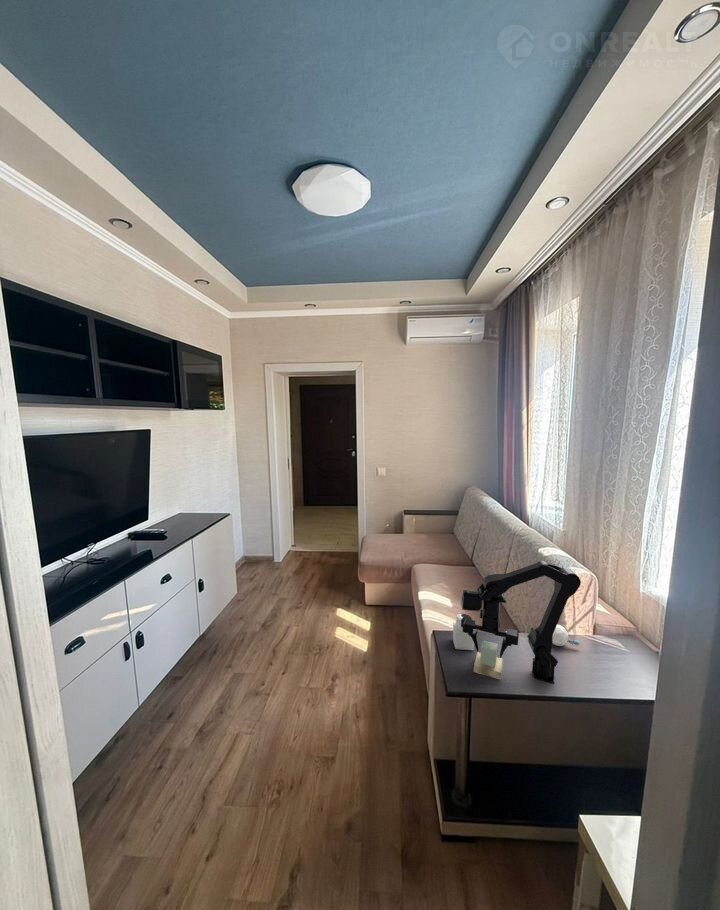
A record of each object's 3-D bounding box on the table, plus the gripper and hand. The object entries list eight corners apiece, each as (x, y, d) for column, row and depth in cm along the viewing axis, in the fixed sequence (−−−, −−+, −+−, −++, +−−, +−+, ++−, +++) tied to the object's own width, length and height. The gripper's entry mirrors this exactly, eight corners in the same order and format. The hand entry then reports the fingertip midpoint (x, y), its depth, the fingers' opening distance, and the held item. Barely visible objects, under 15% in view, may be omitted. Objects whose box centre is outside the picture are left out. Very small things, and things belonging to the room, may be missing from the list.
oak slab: (502, 666, 135) (502, 658, 135) (500, 681, 127) (500, 672, 127) (477, 659, 139) (477, 651, 139) (473, 673, 131) (473, 665, 130)
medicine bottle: (470, 640, 151) (471, 612, 150) (473, 650, 144) (475, 621, 143) (452, 639, 151) (453, 611, 151) (455, 649, 144) (456, 619, 144)
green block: (496, 659, 134) (497, 644, 134) (495, 667, 129) (496, 651, 129) (482, 655, 136) (483, 640, 136) (480, 663, 132) (481, 647, 131)
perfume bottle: (545, 626, 157) (577, 637, 151) (543, 644, 151) (576, 656, 146) (548, 617, 152) (582, 628, 146) (546, 635, 146) (581, 648, 141)
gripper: (520, 608, 135) (518, 649, 136) (468, 597, 143) (466, 636, 144) (519, 622, 125) (516, 666, 126) (463, 609, 133) (461, 651, 134)
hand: (489, 654), depth 132 cm, fingers open, 7 cm apart
